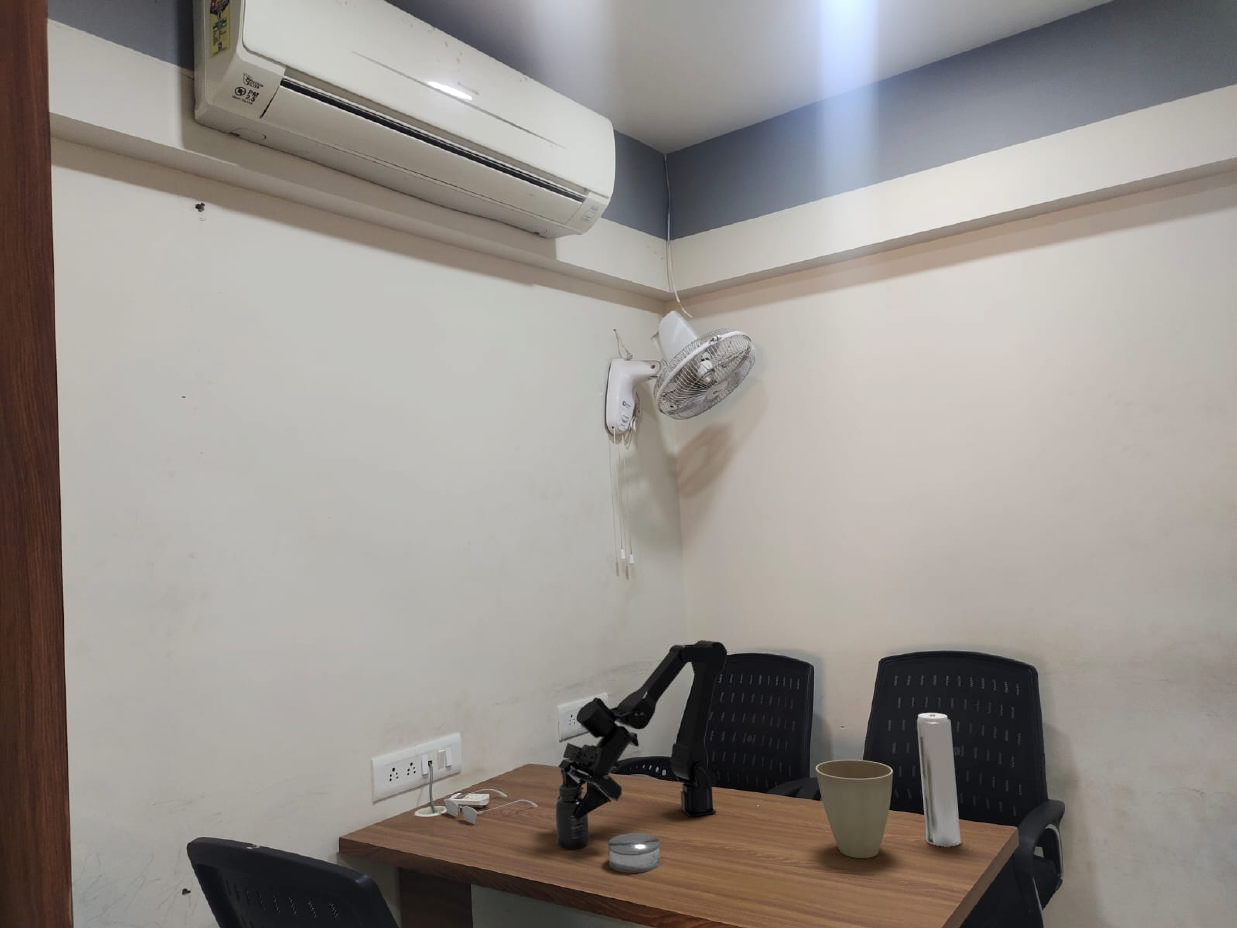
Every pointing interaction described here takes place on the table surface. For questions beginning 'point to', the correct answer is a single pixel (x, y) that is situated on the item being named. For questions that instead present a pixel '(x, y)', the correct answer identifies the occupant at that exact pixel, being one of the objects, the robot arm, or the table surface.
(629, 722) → the robot arm
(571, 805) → the supplement bottle
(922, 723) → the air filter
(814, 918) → the table surface
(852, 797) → the plant pot
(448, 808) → the eyeglasses
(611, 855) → the grey short cylinder
